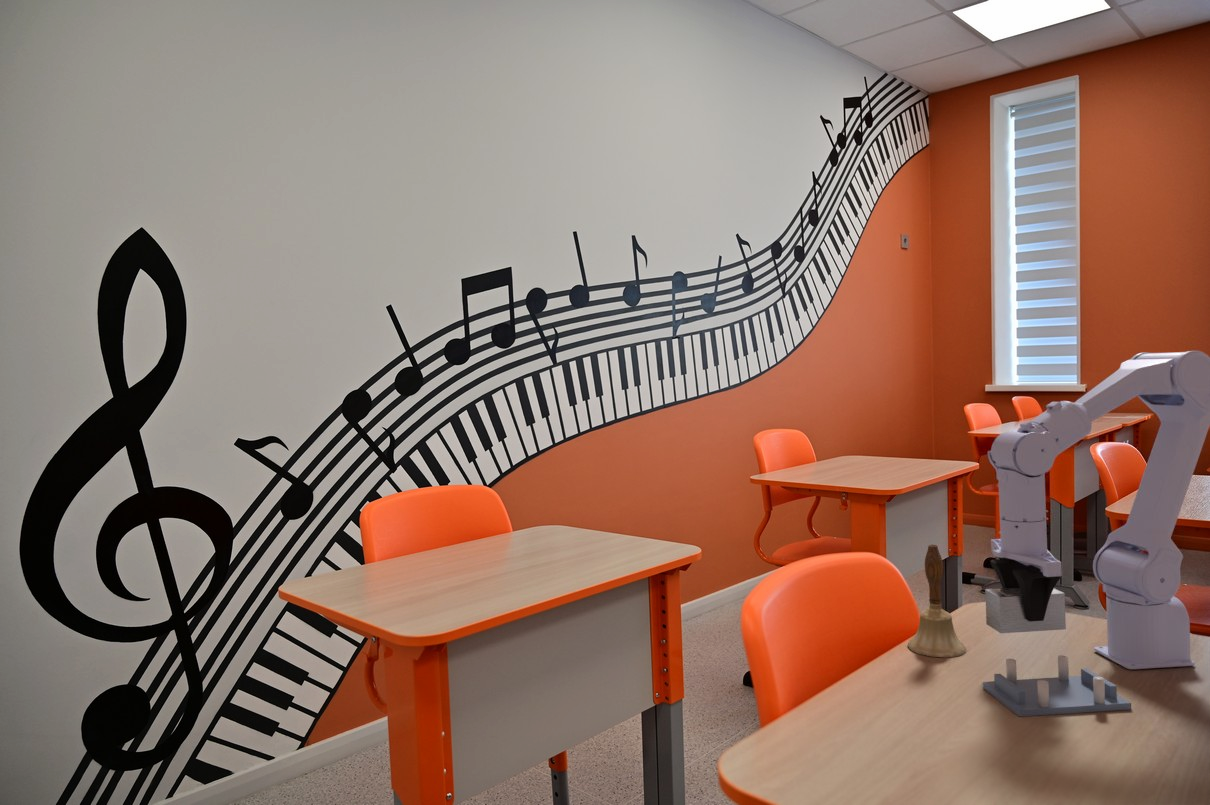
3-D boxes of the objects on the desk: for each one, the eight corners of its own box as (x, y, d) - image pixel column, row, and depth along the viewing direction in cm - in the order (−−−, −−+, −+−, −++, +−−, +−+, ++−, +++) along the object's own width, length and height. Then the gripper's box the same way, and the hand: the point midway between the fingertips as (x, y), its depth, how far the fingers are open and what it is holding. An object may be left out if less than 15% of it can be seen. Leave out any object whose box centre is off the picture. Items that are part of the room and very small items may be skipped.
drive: (1049, 620, 115) (1047, 585, 115) (1065, 629, 111) (1064, 592, 111) (986, 624, 115) (985, 588, 115) (1000, 633, 111) (999, 596, 111)
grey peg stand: (1086, 681, 109) (1085, 653, 109) (1131, 709, 100) (1130, 679, 100) (983, 687, 109) (982, 659, 108) (1019, 716, 100) (1018, 686, 99)
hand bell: (975, 656, 120) (972, 549, 119) (919, 659, 120) (915, 552, 119) (953, 638, 128) (949, 537, 127) (900, 640, 128) (896, 540, 128)
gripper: (969, 510, 120) (972, 602, 120) (1022, 530, 105) (1025, 633, 106) (1016, 508, 120) (1019, 599, 120) (1076, 527, 105) (1079, 630, 106)
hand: (1026, 615), depth 113 cm, fingers closed on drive, 4 cm apart
